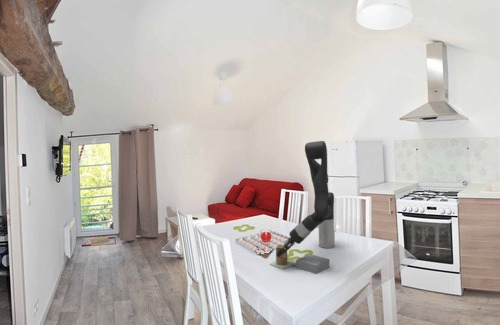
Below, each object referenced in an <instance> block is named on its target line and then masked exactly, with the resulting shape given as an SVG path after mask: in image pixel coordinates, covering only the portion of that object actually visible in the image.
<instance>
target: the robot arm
mask: <svg viewBox="0 0 500 325" xmlns="http://www.w3.org/2000/svg"><path fill="white" fill-rule="evenodd" d="M304 152H305V157H306V160H307V163H308V167H309V171H310V177H311V182H312V187H313V192H314V203H313V204H314V209H313V210H314V212H313V213H311V214H309V215H307V216H305V218H303V220H302V221H301V222H300V223H297V225H296V226H295V227H294V228H293V229H291V231H289V237H288V238H287V239H286V240H285V242H284V243H283V244H282V245H283V247H282V248H281V250H280V251H278V252H277V253H276V252H275V256H276V255H277V256H278V257H280V256H281V255H282V254H283V253H285V252H286V251H287V252H288V250H290V249H291V248H292V247H293V246H294V245H295V243H296V244H298V245H300V244H301V243H302V242H303V241H304V240H305V239H307V237H309V236H310V234H311V233H312V232H313V231H315V229H316V228H317V227H318V246H319V247H320V248H323V249H331V248H335V246H336V245H335V243H336V242H335V240H336V236H335V235H336V233H335V213H334V212H335V211H334V210H335V194H334V193H333V192H331V191H330V192H329V187H328V186H329V175H328V148H327V144H326V142H325V141H324V140H318V141H317V140H316V141H312V142H311V141H309V142H307V143H305V145H304ZM317 160H321V161H320V163H319V162H318V161H317ZM284 248H286V250H284Z"/></svg>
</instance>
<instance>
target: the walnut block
mask: <svg viewBox="0 0 500 325" xmlns="http://www.w3.org/2000/svg"><path fill="white" fill-rule="evenodd" d="M283 245H284V244H277V246H276V247H275V261H276V265H285V266H286V264H287V262H289V261H288V250H287V251H286V252H285V253H283V254H282V255H281V256H280V257H278V256H277V255H276V253H277V252H278V251H280V250H281V248H282V247H283ZM284 250H286V248H284Z"/></svg>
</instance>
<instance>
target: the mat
mask: <svg viewBox="0 0 500 325" xmlns="http://www.w3.org/2000/svg"><path fill="white" fill-rule="evenodd" d="M269 265H270V266H272V267H275V268H278V269H282V270H284V269H287V268H289V267H291V266H293V265H295V263H294V262H291V261H288V262H287V264H286V266H285V265H276V260H275V261H273V262H271V263H269Z"/></svg>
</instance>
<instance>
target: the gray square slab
mask: <svg viewBox="0 0 500 325" xmlns="http://www.w3.org/2000/svg"><path fill="white" fill-rule="evenodd" d="M330 265H331V264H330V258H326V257H324V256H323V257H322V256H319V255H315V254H312V253H309V254H307V255H304V256H302V257H299V258H296V260H295V266H296V268H298V269H300V270H303V271H306V272H309V273H312V274H314V275H315V274H318V273H320V272H322V271H324V270H326V269H328V268H330Z"/></svg>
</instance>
